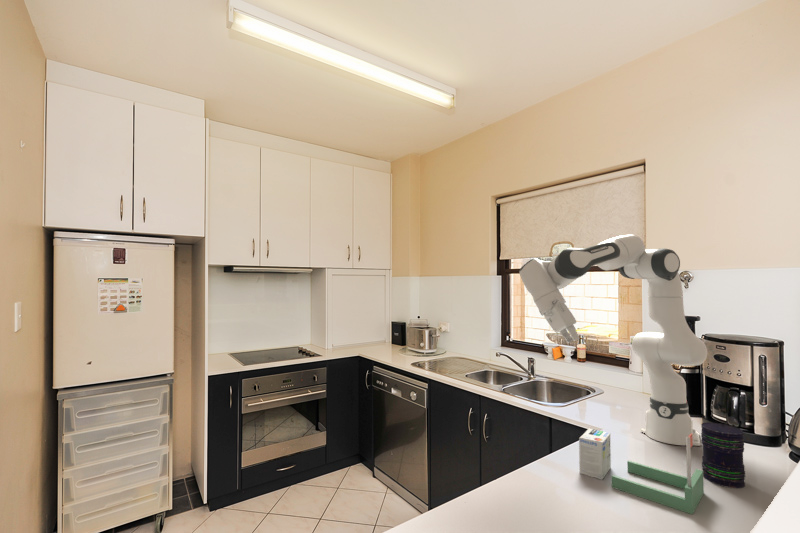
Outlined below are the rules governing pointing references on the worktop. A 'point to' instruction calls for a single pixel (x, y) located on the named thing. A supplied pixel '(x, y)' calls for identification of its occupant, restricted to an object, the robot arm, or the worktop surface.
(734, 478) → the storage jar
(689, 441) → the putting bay
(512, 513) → the worktop surface
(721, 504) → the worktop surface
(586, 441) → the light bulb box
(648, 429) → the robot arm
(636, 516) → the worktop surface
